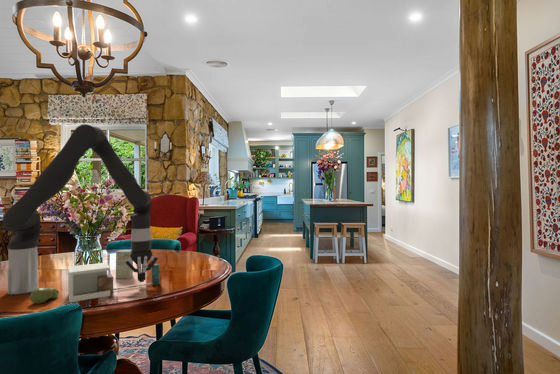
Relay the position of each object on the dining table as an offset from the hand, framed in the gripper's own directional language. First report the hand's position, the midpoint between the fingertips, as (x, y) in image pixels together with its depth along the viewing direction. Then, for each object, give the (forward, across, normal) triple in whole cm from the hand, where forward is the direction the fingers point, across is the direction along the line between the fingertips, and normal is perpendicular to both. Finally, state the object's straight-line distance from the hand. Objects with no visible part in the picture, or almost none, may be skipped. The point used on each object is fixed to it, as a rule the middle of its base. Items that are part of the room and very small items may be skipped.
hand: (141, 281), depth 140 cm
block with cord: (+2, -4, 0) cm, 5 cm away
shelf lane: (+2, -18, 0) cm, 18 cm away
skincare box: (+2, -3, +21) cm, 21 cm away
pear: (+2, -33, +2) cm, 33 cm away
